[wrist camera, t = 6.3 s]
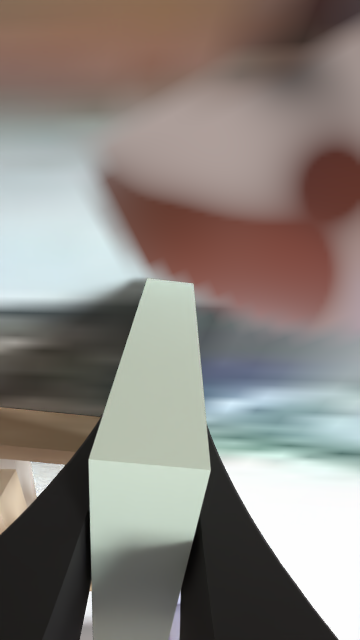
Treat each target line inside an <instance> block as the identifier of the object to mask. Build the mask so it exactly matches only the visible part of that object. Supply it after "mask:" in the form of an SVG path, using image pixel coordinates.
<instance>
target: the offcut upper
mask: <svg viewBox="0 0 360 640" xmlns="http://www.w3.org/2000/svg"><path fill="white" fill-rule="evenodd" d="M26 509H27V504H26V501H25V498H24V494H23V491H22V488H21V484H20V481H19V478H18V475H17V472H16V469H0V534H1V533H2V532H4V531H5V530H6V529H7V528H8V527H9V526H10V525H11V524H12V523H13V522H14V521H15V520H16V519H17V518H18V517H19V516H20V515H21V514H22V513H23V512H24V511H25V510H26Z"/></svg>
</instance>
